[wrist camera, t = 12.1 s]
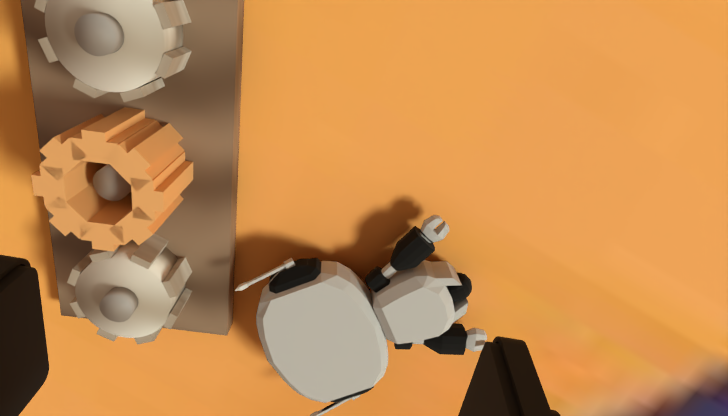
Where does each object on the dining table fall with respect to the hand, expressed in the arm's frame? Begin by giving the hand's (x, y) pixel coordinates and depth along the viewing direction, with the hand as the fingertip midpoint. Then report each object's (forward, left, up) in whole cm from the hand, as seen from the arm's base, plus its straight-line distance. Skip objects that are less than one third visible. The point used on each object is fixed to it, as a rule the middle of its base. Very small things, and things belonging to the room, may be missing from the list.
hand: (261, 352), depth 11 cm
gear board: (+5, -12, -23) cm, 27 cm away
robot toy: (+14, +4, -24) cm, 28 cm away
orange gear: (+5, -12, -22) cm, 25 cm away
